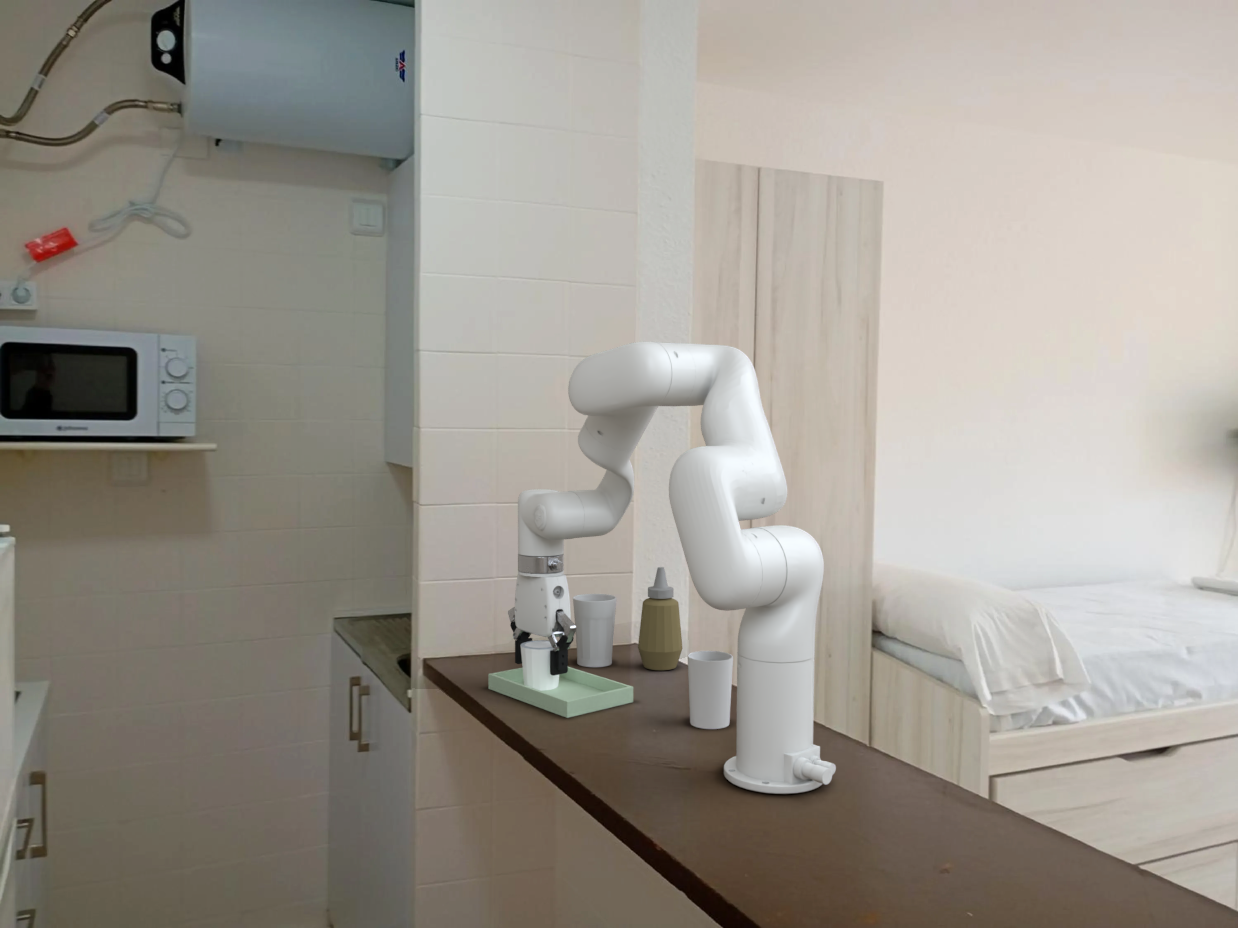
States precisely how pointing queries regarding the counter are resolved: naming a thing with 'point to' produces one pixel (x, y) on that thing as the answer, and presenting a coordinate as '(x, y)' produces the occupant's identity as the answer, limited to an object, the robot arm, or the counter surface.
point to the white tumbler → (710, 688)
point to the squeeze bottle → (660, 626)
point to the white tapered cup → (538, 665)
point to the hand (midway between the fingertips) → (541, 668)
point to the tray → (564, 692)
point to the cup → (594, 628)
